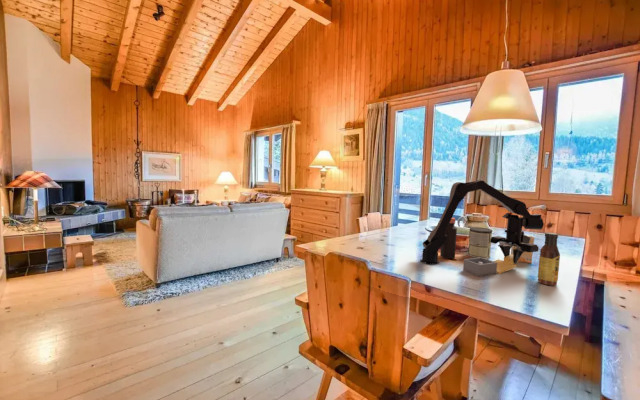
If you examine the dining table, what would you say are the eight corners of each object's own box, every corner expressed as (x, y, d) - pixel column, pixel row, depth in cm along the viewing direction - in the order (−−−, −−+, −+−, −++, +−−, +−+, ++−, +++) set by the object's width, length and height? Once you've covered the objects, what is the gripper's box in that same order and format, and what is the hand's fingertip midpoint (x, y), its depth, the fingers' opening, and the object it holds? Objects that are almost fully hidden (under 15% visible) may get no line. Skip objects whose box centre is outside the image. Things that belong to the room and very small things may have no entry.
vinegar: (437, 255, 152) (439, 217, 150) (448, 255, 154) (451, 216, 152) (446, 259, 145) (448, 219, 143) (457, 258, 147) (460, 219, 145)
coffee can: (464, 252, 159) (466, 226, 158) (484, 253, 158) (486, 227, 157) (472, 258, 149) (474, 230, 147) (494, 259, 148) (496, 231, 146)
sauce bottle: (558, 287, 112) (563, 236, 110) (537, 284, 115) (542, 233, 113) (555, 282, 118) (561, 233, 116) (536, 279, 121) (541, 231, 119)
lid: (498, 274, 126) (498, 267, 126) (481, 267, 134) (481, 262, 133) (524, 263, 132) (524, 257, 131) (506, 258, 139) (506, 252, 139)
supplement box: (512, 261, 145) (514, 234, 144) (510, 258, 150) (512, 233, 149) (532, 263, 142) (534, 236, 141) (529, 260, 147) (531, 234, 145)
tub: (478, 276, 122) (479, 264, 122) (463, 270, 130) (463, 259, 129) (496, 274, 126) (497, 262, 125) (479, 268, 133) (480, 257, 133)
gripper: (548, 231, 127) (544, 266, 129) (507, 224, 145) (504, 255, 146) (531, 233, 123) (527, 269, 125) (490, 225, 141) (488, 257, 142)
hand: (511, 262), depth 135 cm, fingers closed on lid, 3 cm apart
